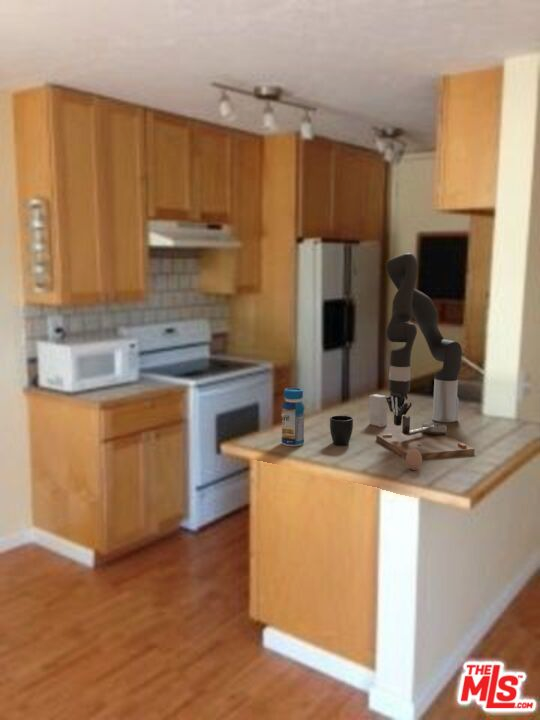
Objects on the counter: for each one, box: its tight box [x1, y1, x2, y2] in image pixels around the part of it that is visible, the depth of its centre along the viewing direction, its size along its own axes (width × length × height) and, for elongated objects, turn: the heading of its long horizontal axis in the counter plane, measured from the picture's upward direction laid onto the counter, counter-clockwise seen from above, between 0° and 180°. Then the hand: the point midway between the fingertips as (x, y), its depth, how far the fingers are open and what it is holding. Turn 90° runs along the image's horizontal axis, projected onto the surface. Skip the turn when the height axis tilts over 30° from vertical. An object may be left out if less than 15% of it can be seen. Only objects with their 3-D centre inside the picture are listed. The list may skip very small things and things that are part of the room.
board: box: [375, 432, 476, 460], centre depth 239 cm, size 25×25×3 cm
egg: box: [405, 449, 423, 471], centre depth 214 cm, size 5×5×7 cm
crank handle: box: [401, 415, 448, 436], centre depth 246 cm, size 22×9×8 cm, turn 128°
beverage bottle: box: [280, 387, 306, 447], centre depth 241 cm, size 8×8×20 cm
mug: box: [329, 414, 354, 447], centre depth 244 cm, size 8×12×10 cm
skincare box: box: [368, 393, 388, 428], centre depth 268 cm, size 6×4×12 cm
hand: (397, 425), depth 243 cm, fingers closed
